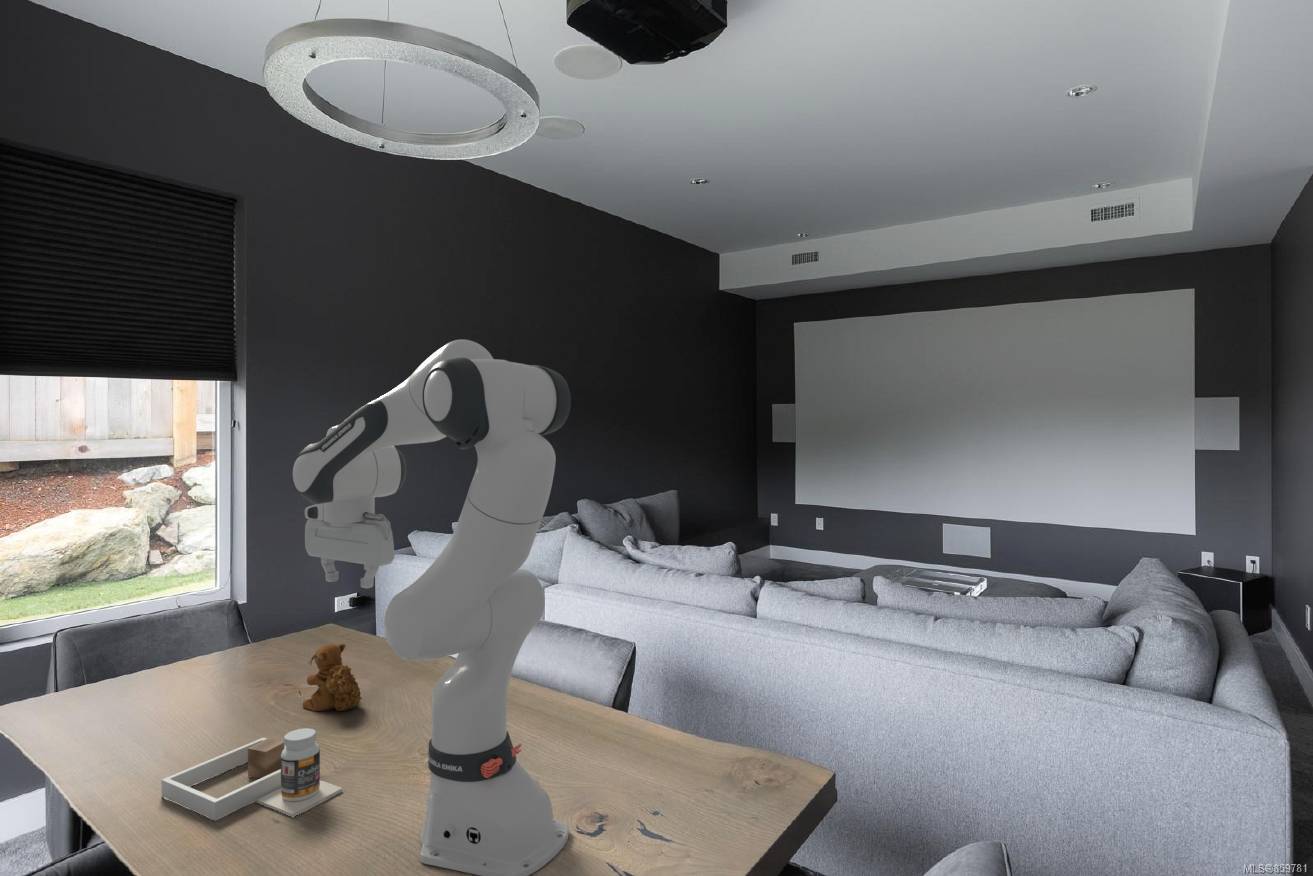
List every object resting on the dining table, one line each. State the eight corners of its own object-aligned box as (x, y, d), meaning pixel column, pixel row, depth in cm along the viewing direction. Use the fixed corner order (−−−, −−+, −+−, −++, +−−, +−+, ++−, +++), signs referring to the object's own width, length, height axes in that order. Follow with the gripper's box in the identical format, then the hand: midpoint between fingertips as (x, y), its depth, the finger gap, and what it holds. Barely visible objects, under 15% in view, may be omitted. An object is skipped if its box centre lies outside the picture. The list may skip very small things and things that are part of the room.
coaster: (342, 791, 120) (342, 788, 120) (293, 818, 112) (293, 814, 112) (306, 778, 124) (306, 775, 124) (257, 803, 116) (256, 799, 116)
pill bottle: (304, 804, 114) (303, 743, 114) (272, 800, 116) (272, 740, 115) (327, 786, 120) (326, 728, 120) (297, 783, 121) (296, 725, 121)
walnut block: (284, 769, 127) (284, 742, 127) (266, 780, 123) (266, 752, 123) (266, 766, 128) (266, 738, 128) (248, 777, 125) (247, 748, 124)
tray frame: (315, 771, 126) (315, 755, 126) (215, 821, 111) (215, 802, 111) (263, 753, 133) (263, 737, 133) (161, 797, 117) (161, 779, 117)
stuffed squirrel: (341, 691, 163) (340, 634, 163) (376, 707, 155) (375, 646, 154) (297, 705, 155) (296, 645, 155) (331, 722, 147) (331, 659, 146)
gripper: (402, 513, 131) (402, 587, 132) (327, 505, 141) (327, 574, 141) (375, 517, 126) (375, 595, 126) (298, 508, 135) (298, 581, 136)
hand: (349, 584), depth 134 cm, fingers open, 8 cm apart
